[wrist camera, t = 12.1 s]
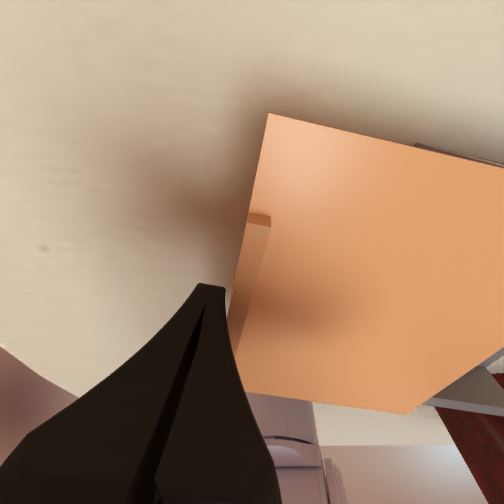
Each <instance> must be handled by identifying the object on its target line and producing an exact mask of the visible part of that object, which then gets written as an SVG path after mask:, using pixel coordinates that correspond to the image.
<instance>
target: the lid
mask: <svg viewBox="0 0 504 504" xmlns="http://www.w3.org/2000/svg"><path fill="white" fill-rule="evenodd" d="M227 325H228V332H229V337H230V342H231V346H232V350H233V354H234V358H235V362H236V365H237V369H238V372H239V375H240V379H241V382H242V385H243V388H244V390H245V392H251V393H258V394H265V395H272V396H279V397H286V398H293V399H299V400H306V401H313V402H320V403H327V404H334V405H341V406H348V407H355V408H362V409H369V410H376V411H383V412H389V413H396V414H403V415H406V414H408V413H409V412H411V411H412V410H414V409H415V408H416V407H418V406H419V405H421V404H422V403H424V402H425V401H427V400H428V399H429V398H431V397H432V396H434V395H435V394H437V393H438V392H440V391H441V390H443V389H444V388H445V387H447V386H448V385H450V384H451V383H453V382H454V381H456V380H457V379H458V378H460V377H461V376H463V375H464V374H466V373H467V372H469V371H470V370H471V369H473V368H474V367H476V366H477V365H479V364H480V363H482V362H483V361H484V360H486V359H487V358H489V357H490V356H492V355H493V354H495V353H496V352H497V351H499V350H500V349H502V348H503V347H504V168H501V167H497V166H493V165H489V164H484V163H480V162H476V161H472V160H467V159H463V158H459V157H455V156H451V155H446V154H442V153H438V152H434V151H429V150H425V149H421V148H417V147H413V146H408V145H404V144H400V143H396V142H391V141H387V140H383V139H379V138H375V137H370V136H366V135H362V134H358V133H353V132H349V131H345V130H341V129H337V128H332V127H328V126H324V125H320V124H315V123H311V122H307V121H303V120H299V119H294V118H290V117H286V116H282V115H277V114H273V113H269V112H268V117H267V122H266V126H265V131H264V136H263V141H262V146H261V151H260V156H259V161H258V166H257V171H256V176H255V181H254V186H253V191H252V196H251V200H250V205H249V210H248V215H247V220H246V225H245V230H244V235H243V240H242V245H241V250H240V255H239V260H238V265H237V269H236V274H235V279H234V284H233V289H232V294H231V299H230V304H229V309H228V314H227Z"/></svg>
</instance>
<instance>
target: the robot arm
mask: <svg viewBox="0 0 504 504" xmlns="http://www.w3.org/2000/svg"><path fill="white" fill-rule="evenodd" d="M225 292H226V289H225V288H224V287H220V286H214V285H208V284H203V283H199V284H197V286H196V287H195V289H194V290H193V292H192V293H191V295H190V296H189V297H188V299H187V300H186V301H185V303H184V304H183V305H182V306H181V307H180V309H179V310H178V311H177V312H176V313H175V314H174V316H173V317H172V318H171V319H170V320H169V321H168V322H167V323H166V324H165V325H164V326H163V328H162V329H161V330H160V331H159V332H158V333H157V334H156V335H155V336H154V337H153V338H152V339H151V340H150V341H149V342H148V343H147V344H145V345H144V346H143V347H142V348H141V349H140V350H139V351H138V352H137V353H136V354H134V355H133V356H132V357H131V358H130V359H129V360H127V361H126V362H125V363H124V364H123V365H122V366H120V367H119V368H118V369H117V370H115V371H114V372H113V373H112V374H111V375H109V376H108V377H107V378H105V379H104V380H103V381H101V382H100V383H99V384H97V385H96V386H95V387H93V388H92V389H91V390H89V391H88V392H87V393H86V394H84V395H83V396H82V397H80V398H79V399H77V400H76V401H75V402H73V403H72V404H71V405H69V406H68V407H66V408H65V409H63V410H62V411H60V412H59V413H57V414H56V415H54V416H53V417H52V418H50V419H48V420H47V421H45V422H44V423H43V424H41V425H40V426H38V427H37V428H36V429H34V430H32V431H31V432H30V433H28V434H27V435H26V436H25V438H24V439H23V440H22V441H21V442H20V443H19V445H18V446H17V447H16V448H15V449H14V450H13V452H12V453H11V454H10V455H9V456H8V458H7V459H6V460H5V461H4V463H3V464H2V465H1V466H0V504H348V503H347V498H346V494H345V489H344V484H343V480H342V476H341V472H340V469H339V468H338V467H337V466H336V465H335V464H334V463H333V461H332V459H330V458H324V464H325V470H326V478H325V472H324V466H323V460H322V456H321V451H320V447H319V444H318V437H317V431H316V425H315V418H314V412H313V406H312V401H306V400H299V399H293V398H286V397H279V396H272V395H265V394H258V393H251V392H245V390H244V388H243V385H242V382H241V379H240V375H239V372H238V369H237V365H236V362H235V358H234V354H233V350H232V346H231V342H230V337H229V332H228V325H227V319H226V309H225ZM326 481H327V484H326ZM327 488H328V490H327Z"/></svg>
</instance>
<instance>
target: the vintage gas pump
mask: <svg viewBox="0 0 504 504" xmlns="http://www.w3.org/2000/svg"><path fill="white" fill-rule="evenodd" d="M491 375H492V376H493V377H494V379H495V380H496V381H497V382H498V383H499V385H500V386H501V387H502V388H503V389H504V374H491ZM435 409H436V410H437V412H438V414H439V416H440V418H441V419H442V421H443V423H444V425H445V426H446V428H447V430H448V432H449V434H450V435H451V437H452V439H453V441H454V443H455V444H456V446H457V448H458V450H459V452H460V453H461V455H462V457H463V458H464V460H465V462H466V464H467V466H468V468H469V469H470V471H471V473H472V475H473V477H474V478H475V480H476V482H477V484H478V486H479V487H480V489H481V491H482V493H483V495H484V496H485V498H486V500H487V502H488V503H489V504H504V416H497V415H491V414H484V413H477V412H470V411H464V410H457V409H450V408H444V407H437V406H435Z"/></svg>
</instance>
